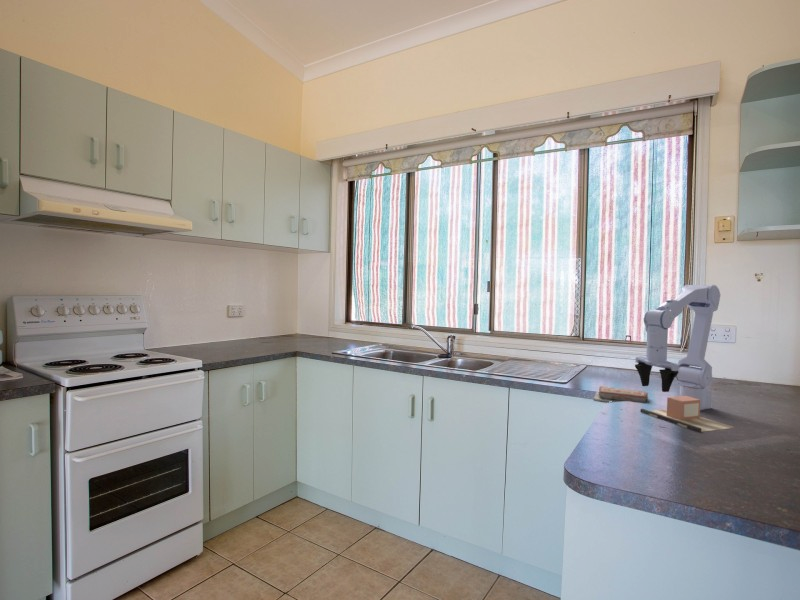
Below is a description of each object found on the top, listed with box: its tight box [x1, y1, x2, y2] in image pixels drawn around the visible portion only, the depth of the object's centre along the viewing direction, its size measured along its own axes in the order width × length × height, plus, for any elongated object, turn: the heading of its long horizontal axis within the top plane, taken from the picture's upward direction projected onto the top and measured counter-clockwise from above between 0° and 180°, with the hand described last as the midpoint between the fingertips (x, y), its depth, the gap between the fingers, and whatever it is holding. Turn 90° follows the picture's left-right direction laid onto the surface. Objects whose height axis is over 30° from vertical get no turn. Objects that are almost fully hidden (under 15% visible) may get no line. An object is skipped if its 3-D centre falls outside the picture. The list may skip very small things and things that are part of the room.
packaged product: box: [593, 385, 649, 403], centre depth 163 cm, size 18×5×10 cm
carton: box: [666, 395, 701, 420], centre depth 140 cm, size 5×8×6 cm, turn 109°
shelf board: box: [640, 408, 736, 433], centre depth 137 cm, size 15×20×2 cm
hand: (655, 388), depth 141 cm, fingers open, 7 cm apart
